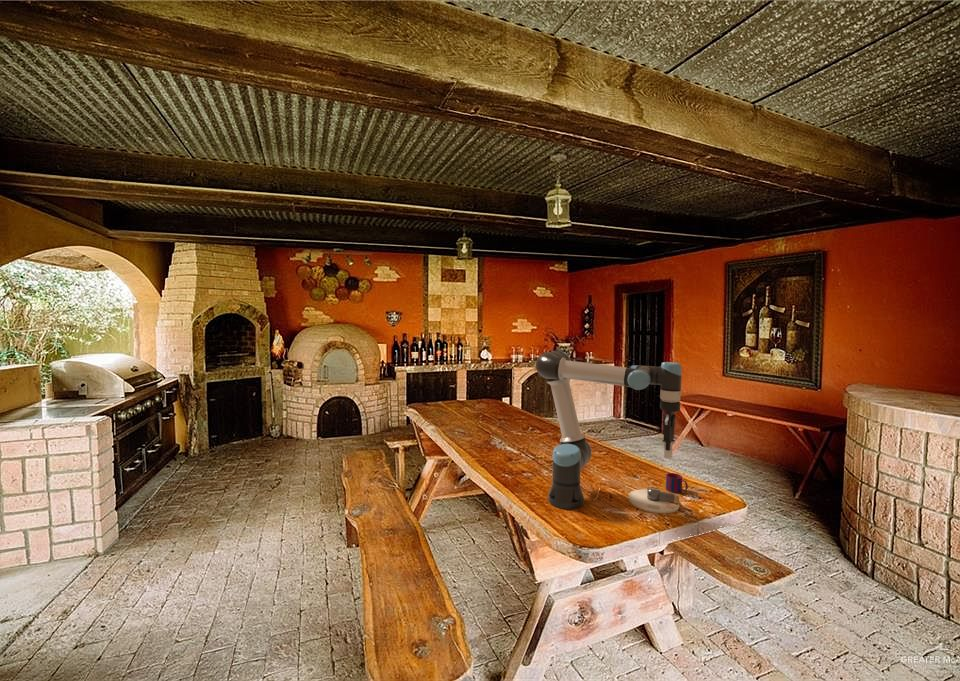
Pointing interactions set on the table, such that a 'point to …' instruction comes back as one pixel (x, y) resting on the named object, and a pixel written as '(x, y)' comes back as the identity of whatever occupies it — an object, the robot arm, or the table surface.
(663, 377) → the robot arm
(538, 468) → the table surface
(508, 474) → the table surface
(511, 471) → the table surface
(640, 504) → the dial plate
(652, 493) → the needle
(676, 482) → the mug
